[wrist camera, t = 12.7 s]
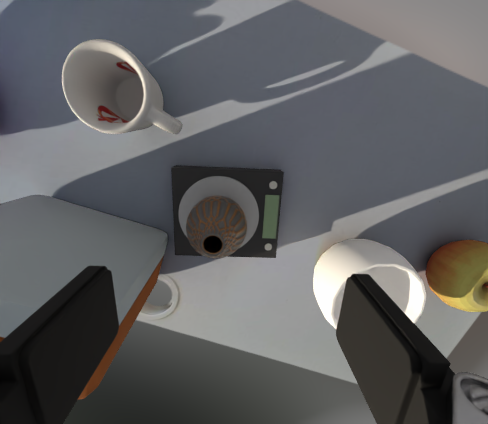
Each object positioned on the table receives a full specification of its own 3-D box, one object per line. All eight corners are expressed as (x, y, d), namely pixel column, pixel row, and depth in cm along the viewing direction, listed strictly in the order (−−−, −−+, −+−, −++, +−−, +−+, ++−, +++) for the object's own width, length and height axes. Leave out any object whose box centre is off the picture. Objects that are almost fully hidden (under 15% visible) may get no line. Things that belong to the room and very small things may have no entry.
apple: (422, 232, 36) (471, 257, 28) (486, 231, 36) (552, 256, 29) (408, 289, 39) (450, 326, 31) (468, 288, 39) (524, 324, 31)
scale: (175, 165, 32) (170, 168, 29) (280, 169, 33) (284, 172, 30) (179, 247, 36) (174, 257, 33) (273, 250, 36) (276, 260, 33)
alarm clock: (32, 247, 35) (-228, 385, 16) (38, 190, 33) (-260, 269, 13) (158, 281, 37) (69, 440, 18) (172, 231, 35) (88, 349, 15)
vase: (186, 196, 30) (167, 218, 22) (240, 185, 30) (241, 203, 22) (199, 245, 32) (186, 282, 24) (250, 235, 32) (254, 269, 24)
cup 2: (316, 220, 35) (344, 249, 26) (395, 234, 36) (450, 267, 27) (294, 292, 39) (312, 341, 29) (367, 303, 40) (407, 354, 30)
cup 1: (203, 102, 30) (191, 89, 22) (174, 158, 32) (154, 164, 24) (121, 49, 28) (78, 17, 21) (96, 112, 30) (47, 104, 23)
